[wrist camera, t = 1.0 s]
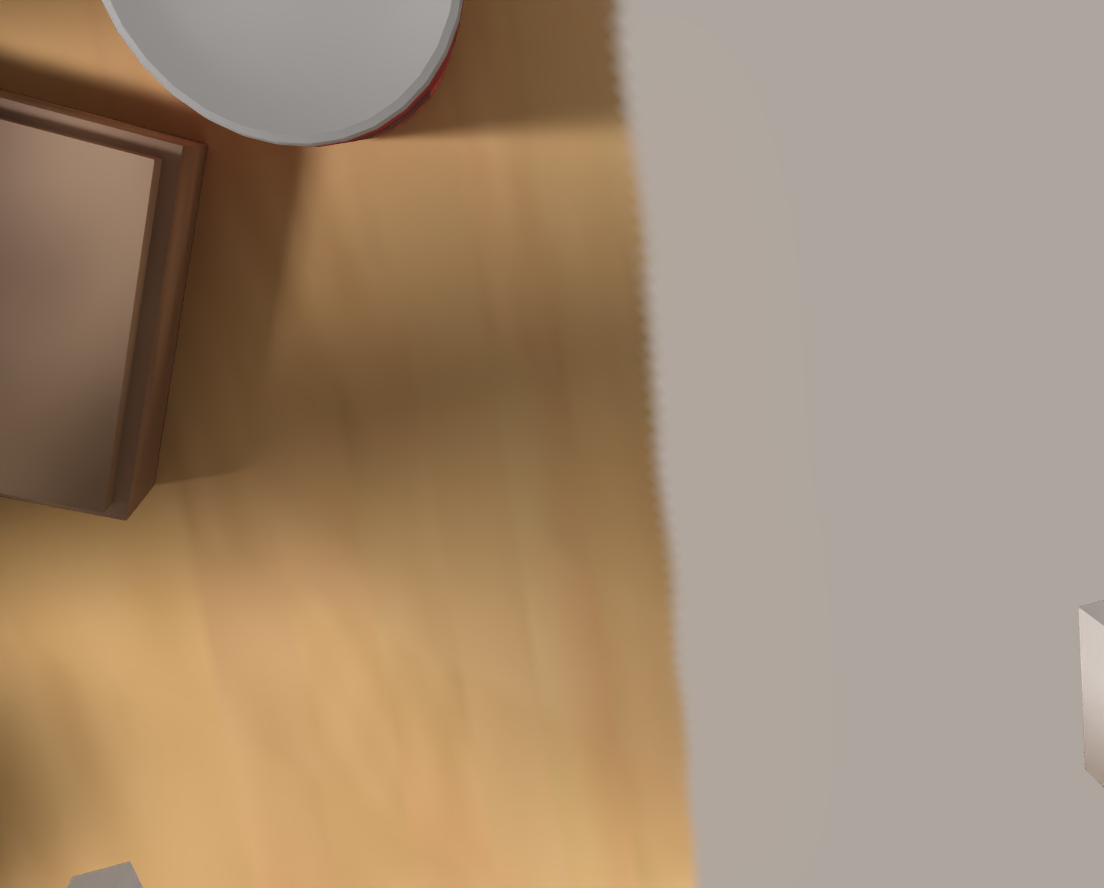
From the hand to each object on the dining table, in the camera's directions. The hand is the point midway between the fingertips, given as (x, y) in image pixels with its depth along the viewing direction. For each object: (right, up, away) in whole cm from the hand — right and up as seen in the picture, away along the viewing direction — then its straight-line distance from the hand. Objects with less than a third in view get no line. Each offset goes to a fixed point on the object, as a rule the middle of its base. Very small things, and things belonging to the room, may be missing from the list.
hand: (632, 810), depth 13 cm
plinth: (-20, +10, +18) cm, 28 cm away
